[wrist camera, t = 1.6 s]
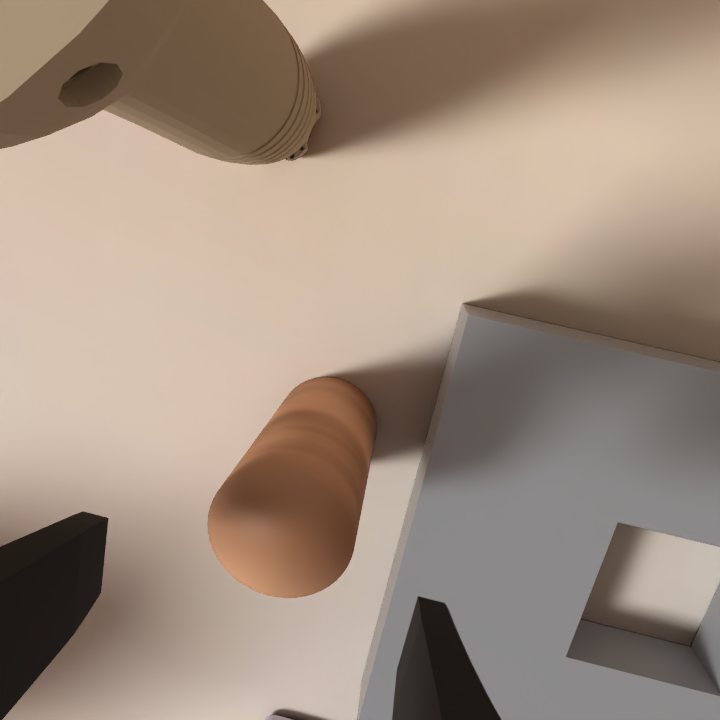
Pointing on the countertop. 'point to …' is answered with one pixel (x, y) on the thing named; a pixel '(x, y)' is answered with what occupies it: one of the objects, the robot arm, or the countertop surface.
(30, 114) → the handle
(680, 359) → the socket plate
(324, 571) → the peg
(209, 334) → the countertop surface
